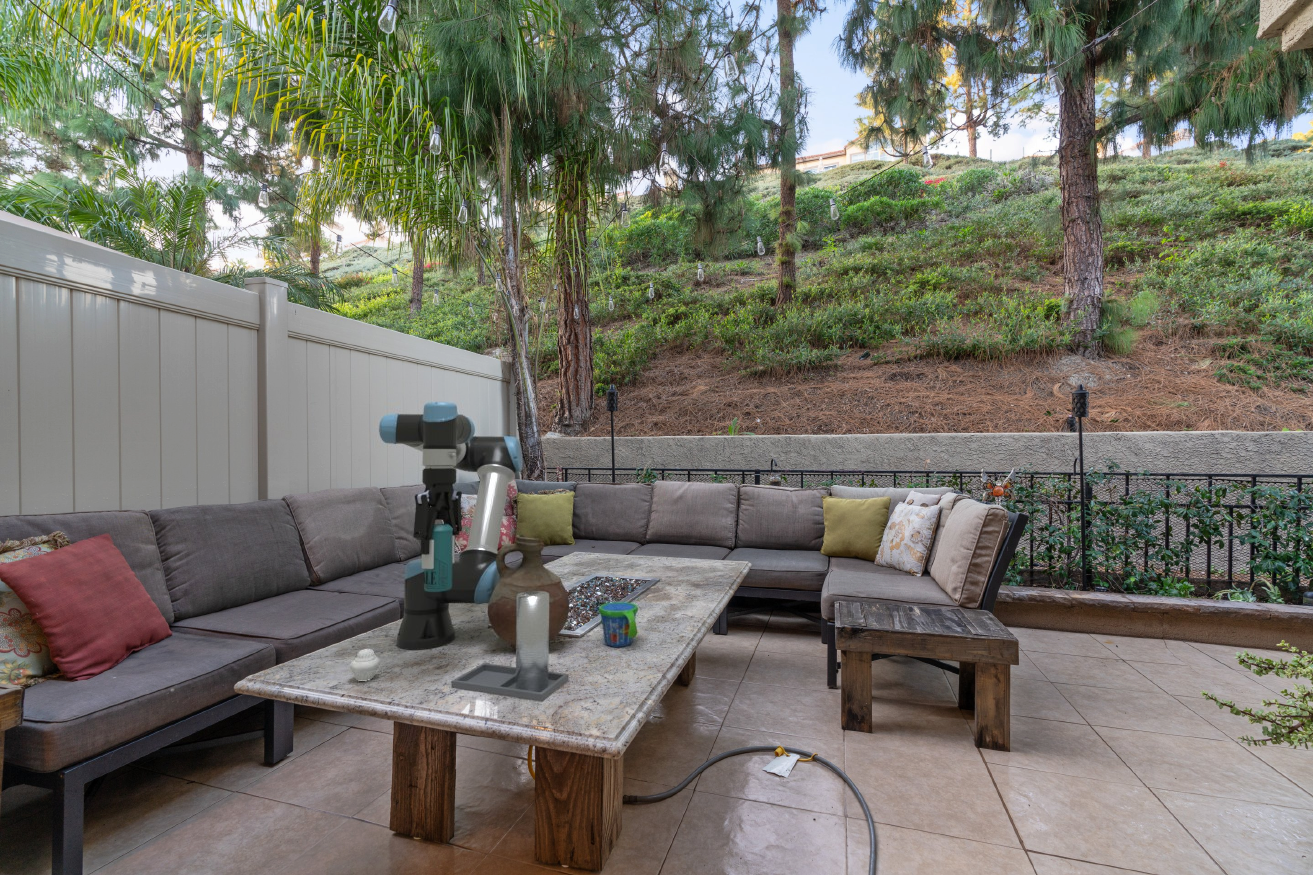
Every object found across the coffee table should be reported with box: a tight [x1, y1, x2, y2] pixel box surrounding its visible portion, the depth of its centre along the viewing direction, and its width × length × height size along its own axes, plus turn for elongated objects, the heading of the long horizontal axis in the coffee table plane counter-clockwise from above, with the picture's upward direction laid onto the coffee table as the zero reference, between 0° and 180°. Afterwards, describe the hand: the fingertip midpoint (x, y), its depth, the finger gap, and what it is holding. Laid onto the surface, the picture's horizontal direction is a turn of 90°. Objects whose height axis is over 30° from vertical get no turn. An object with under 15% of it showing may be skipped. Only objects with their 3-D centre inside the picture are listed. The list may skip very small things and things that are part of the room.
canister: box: [515, 591, 550, 692], centre depth 123 cm, size 7×7×20 cm
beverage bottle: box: [423, 510, 453, 592], centre depth 132 cm, size 6×7×20 cm
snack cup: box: [598, 601, 639, 648], centre depth 155 cm, size 16×10×10 cm
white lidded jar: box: [349, 648, 381, 681], centre depth 130 cm, size 6×6×7 cm
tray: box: [450, 662, 569, 702], centre depth 124 cm, size 12×22×2 cm, turn 72°
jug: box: [487, 534, 570, 649], centre depth 152 cm, size 22×22×30 cm
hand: (438, 565), depth 132 cm, fingers closed on beverage bottle, 6 cm apart
